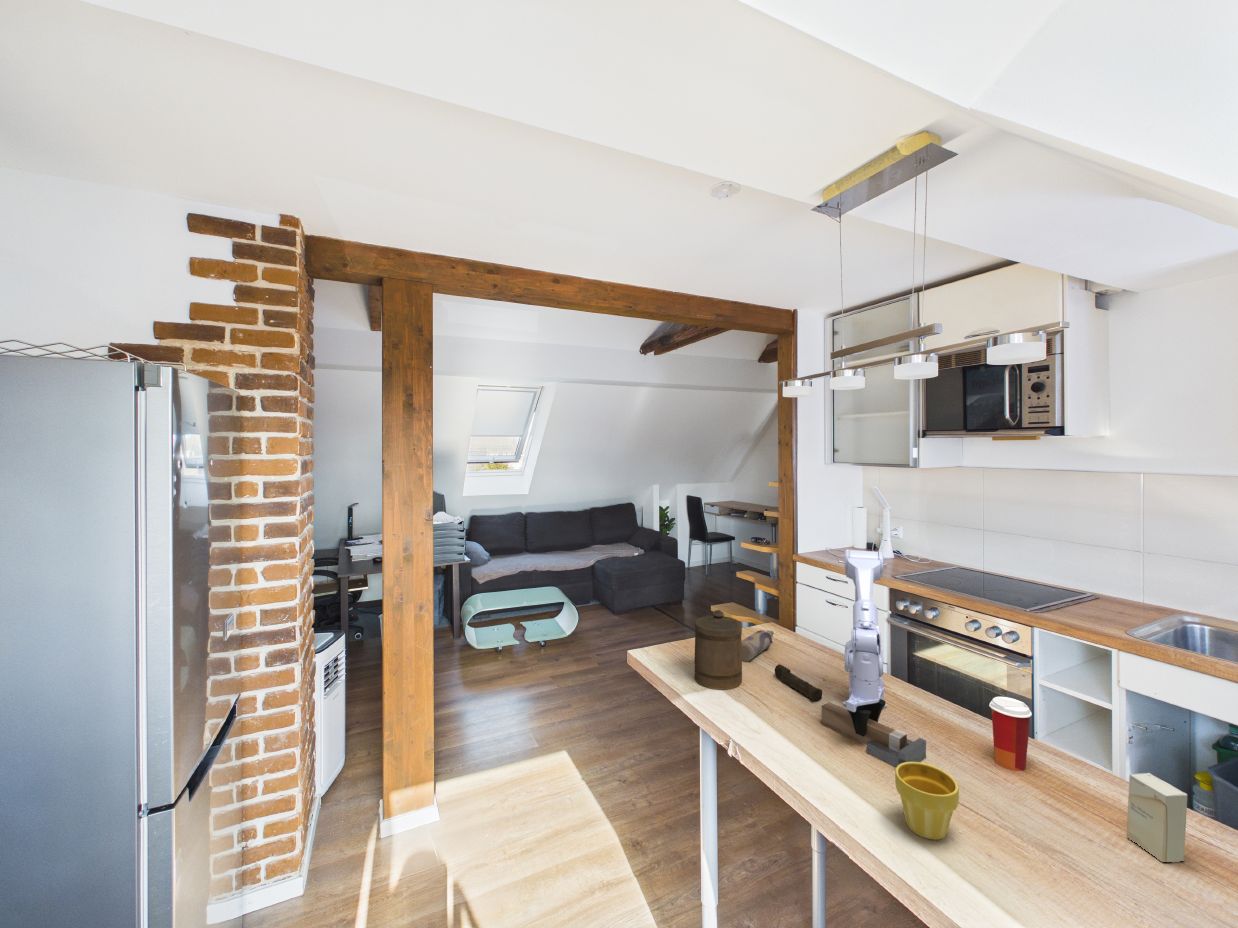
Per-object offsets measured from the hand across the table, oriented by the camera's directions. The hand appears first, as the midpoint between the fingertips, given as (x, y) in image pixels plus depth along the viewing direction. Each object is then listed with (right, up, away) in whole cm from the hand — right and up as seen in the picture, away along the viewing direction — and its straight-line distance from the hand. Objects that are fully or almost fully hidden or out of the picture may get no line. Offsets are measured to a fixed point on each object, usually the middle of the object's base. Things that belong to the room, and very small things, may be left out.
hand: (865, 730), depth 127 cm
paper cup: (+28, -3, -10) cm, 30 cm away
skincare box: (+35, -3, -35) cm, 50 cm away
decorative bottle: (-11, -2, +58) cm, 59 cm away
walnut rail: (-1, -2, +1) cm, 3 cm away
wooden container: (-30, -2, +35) cm, 46 cm away
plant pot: (-3, -3, -30) cm, 30 cm away
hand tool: (-8, -2, +29) cm, 30 cm away
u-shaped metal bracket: (+4, -3, -6) cm, 8 cm away
